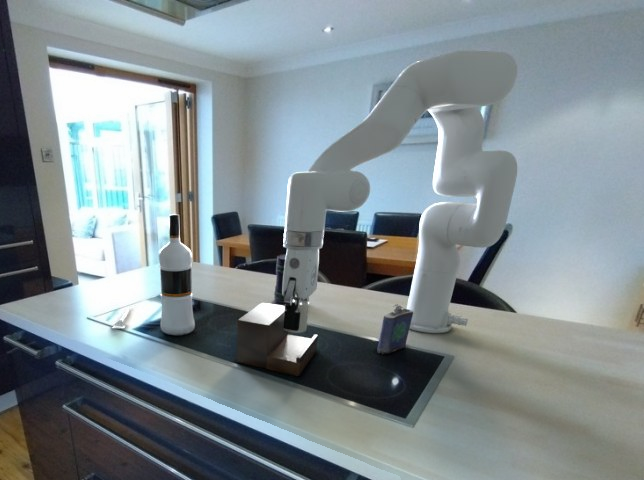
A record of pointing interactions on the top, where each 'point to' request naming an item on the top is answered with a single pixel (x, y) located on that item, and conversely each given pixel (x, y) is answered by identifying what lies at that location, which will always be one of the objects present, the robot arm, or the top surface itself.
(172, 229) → the vodka
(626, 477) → the top surface
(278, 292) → the storage jar
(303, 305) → the white cylinder
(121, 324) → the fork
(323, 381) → the top surface
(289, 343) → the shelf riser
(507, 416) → the top surface
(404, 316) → the flask
